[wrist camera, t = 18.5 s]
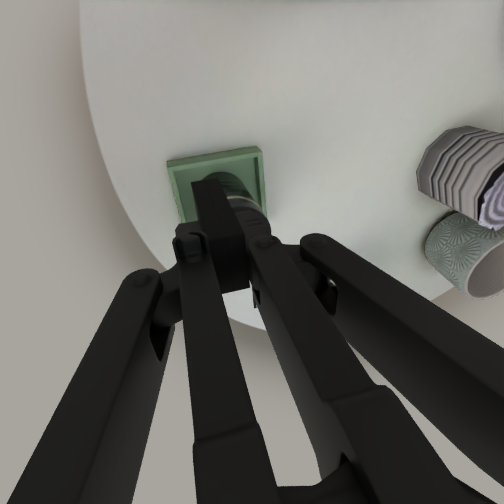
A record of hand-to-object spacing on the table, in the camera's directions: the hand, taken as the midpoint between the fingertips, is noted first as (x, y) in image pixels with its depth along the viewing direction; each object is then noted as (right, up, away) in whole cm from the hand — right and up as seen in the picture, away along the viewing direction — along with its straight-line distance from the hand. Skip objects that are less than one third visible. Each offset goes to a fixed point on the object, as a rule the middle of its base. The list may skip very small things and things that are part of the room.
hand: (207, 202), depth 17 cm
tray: (-2, +5, +23) cm, 24 cm away
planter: (+38, 0, +39) cm, 54 cm away
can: (+33, +11, +30) cm, 46 cm away
